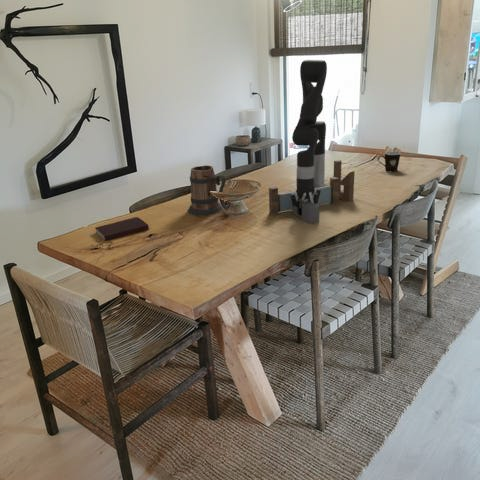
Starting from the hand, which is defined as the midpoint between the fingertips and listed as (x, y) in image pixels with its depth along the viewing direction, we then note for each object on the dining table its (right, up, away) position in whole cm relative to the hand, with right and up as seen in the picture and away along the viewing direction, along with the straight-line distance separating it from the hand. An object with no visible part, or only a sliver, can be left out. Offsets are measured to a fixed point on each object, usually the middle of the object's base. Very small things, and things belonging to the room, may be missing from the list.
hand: (305, 214), depth 206 cm
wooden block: (+21, +9, +22) cm, 32 cm away
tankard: (-42, +2, +15) cm, 45 cm away
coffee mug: (+57, +29, +66) cm, 92 cm away
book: (-79, -8, -4) cm, 79 cm away
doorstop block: (0, -1, +1) cm, 2 cm away
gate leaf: (+1, +4, +12) cm, 13 cm away
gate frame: (+2, +3, +12) cm, 13 cm away
